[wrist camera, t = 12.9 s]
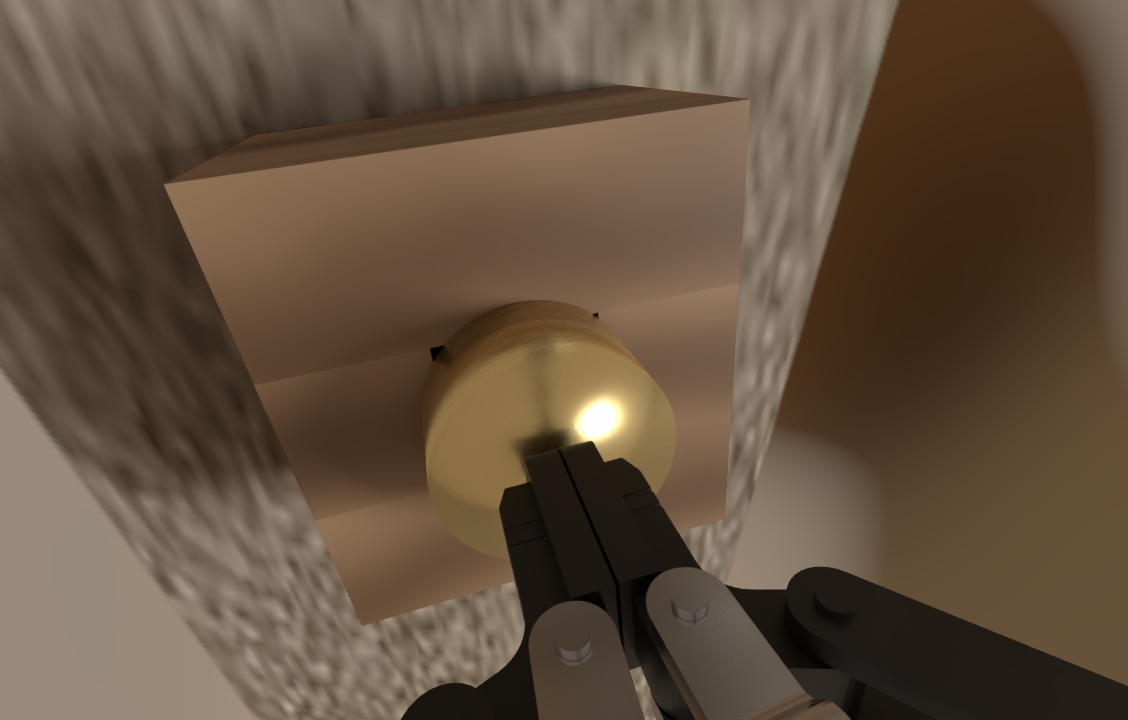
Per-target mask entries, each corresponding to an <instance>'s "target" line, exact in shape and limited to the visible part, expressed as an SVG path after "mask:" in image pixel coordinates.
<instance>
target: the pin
mask: <svg viewBox="0 0 1128 720" xmlns="http://www.w3.org/2000/svg"><path fill="white" fill-rule="evenodd" d="M421 414H422V425H423V437H424V448H425V460H426V472H427V483H428V490H429V495H430V500H431V503H432V505H433V508H434V510H435V513H436V514H437V516H438V518H439V519H440V521H441V522H442V524H443V525H444V526H445V527H446V528H447V530H448V531H449V532H450V533H451V534H452V535H453V536H455V537H456V538H457V539H458V540H459V541H461V542H462V543H464V544H465V545H467V546H469V547H470V548H472V549H474V550H477V551H479V552H481V553H484V554H486V555H490V556H493V557H497V558H502V559H508V560H510V559H509V554H508V549H507V545H506V540H505V536H504V531H503V527H502V522H501V517H500V513H499V506H500V503H501V499H502V496H503V492H504V489H505V488H509V487H513V486H516V485H520V484H524V483H527V481H526V476H525V470H524V464H523V458H524V457H528V456H532V455H536V454H540V453H544V452H548V451H552V450H557V451H558V449H559V448H563V447H567V446H571V445H575V444H578V443H582V442H586V441H590V440H592V441H593V442H594V444H595V446H596V447H597V449H598V451H599V453H600V455H601V457H602V459H603V461H604V462H606V461H610V460H614V459H618V458H623V459H625V460H626V461H627V462H629V463H630V464H632V465H633V466H635V467H636V468H638V469H639V470H640V471H641V472H642V474H643V476H644V477H645V479H646V481H647V482H648V484H649V485H650V487H651V490H652V492H654V494H655V495H657V493H658V491H659V490H660V488H661V487H662V485H663V483H664V481H665V479H666V477H667V475H668V473H669V471H670V468H671V465H672V462H673V458H674V454H675V449H676V437H677V434H676V423H675V418H674V414H673V410H672V408H671V406H670V403H669V401H668V399H667V397H666V396H665V394H664V393H663V391H662V390H661V388H660V387H659V386H658V385H657V383H656V382H655V381H654V380H653V378H652V377H651V376H650V375H649V374H648V372H647V371H646V370H645V369H644V367H643V366H642V365H641V364H640V363H639V361H638V360H637V359H636V358H635V357H634V355H633V354H632V353H631V352H630V350H629V349H628V348H627V347H626V346H625V344H624V343H623V342H622V341H621V339H620V338H619V337H618V336H617V335H616V333H615V332H614V331H613V330H612V329H611V328H610V327H609V326H608V325H607V324H606V323H605V322H604V321H602V320H601V319H600V318H599V317H597V316H595V315H594V314H592V313H590V312H589V311H587V310H585V309H582V308H580V307H577V306H575V305H571V304H567V303H563V302H558V301H549V300H531V301H523V302H516V303H512V304H509V305H505V306H501V307H499V308H496V309H494V310H491V311H489V312H486V313H484V314H483V315H481V316H479V317H477V318H475V319H473V320H472V321H471V322H469V323H468V324H466V325H465V326H464V327H462V328H461V329H460V330H459V331H457V332H456V333H455V334H454V335H453V336H452V337H451V338H450V339H449V340H448V341H447V342H446V344H445V345H444V346H443V347H442V348H441V350H440V351H439V352H438V354H437V356H436V357H435V359H434V360H433V362H432V364H431V366H430V368H429V371H428V373H427V375H426V378H425V382H424V385H423V390H422V398H421Z"/></svg>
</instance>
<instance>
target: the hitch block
mask: <svg viewBox="0 0 1128 720" xmlns="http://www.w3.org/2000/svg"><path fill="white" fill-rule="evenodd" d="M749 114H750V99H745V98H736V97H727V96H717V95H708V94H699V93H690V92H681V91H671V90H662V89H653V88H644V87H635V86H625V85H621V86H614V87H606V88H599V89H591V90H584V91H576V92H569V93H561V94H554V95H547V96H539V97H532V98H524V99H517V100H509V101H502V102H494V103H487V104H479V105H472V106H465V107H457V108H450V109H442V110H435V111H427V112H420V113H412V114H405V115H397V116H390V117H383V118H375V119H368V120H360V121H353V122H345V123H338V124H330V125H323V126H315V127H308V128H301V129H293V130H286V131H278V132H271V133H263V134H256V135H253V136H251V137H249V138H248V139H246V140H244V141H242V142H240V143H238V144H237V145H235V146H233V147H231V148H229V149H227V150H226V151H224V152H222V153H220V154H218V155H216V156H215V157H213V158H211V159H209V160H207V161H206V162H204V163H202V164H200V165H198V166H196V167H195V168H193V169H191V170H189V171H187V172H185V173H184V174H182V175H180V176H178V177H176V178H174V179H173V180H171V181H169V182H167V183H165V184H164V186H165V189H166V191H167V193H168V195H169V198H170V200H171V202H172V204H173V206H174V209H175V211H176V213H177V215H178V218H179V220H180V222H181V224H182V226H183V229H184V231H185V233H186V235H187V237H188V240H189V242H190V244H191V246H192V249H193V251H194V253H195V255H196V257H197V260H198V262H199V264H200V266H201V269H202V271H203V273H204V275H205V277H206V280H207V282H208V284H209V286H210V289H211V291H212V293H213V295H214V297H215V300H216V302H217V304H218V306H219V309H220V311H221V313H222V315H223V317H224V320H225V322H226V324H227V326H228V329H229V331H230V333H231V335H232V337H233V340H234V342H235V344H236V346H237V349H238V351H239V353H240V355H241V357H242V360H243V362H244V364H245V366H246V369H247V371H248V373H249V375H250V377H251V380H252V382H253V384H254V386H255V389H256V391H257V393H258V395H259V397H260V400H261V402H262V404H263V406H264V409H265V411H266V413H267V415H268V417H269V420H270V422H271V424H272V426H273V428H274V431H275V433H276V435H277V437H278V440H279V442H280V444H281V446H282V448H283V451H284V453H285V455H286V457H287V460H288V462H289V464H290V466H291V468H292V471H293V473H294V475H295V477H296V480H297V482H298V484H299V486H300V488H301V491H302V493H303V495H304V497H305V500H306V502H307V504H308V506H309V508H310V511H311V513H312V515H313V517H314V520H315V522H316V524H317V526H318V528H319V531H320V533H321V535H322V537H323V540H324V542H325V544H326V546H327V548H328V551H329V553H330V555H331V557H332V560H333V562H334V564H335V566H336V568H337V571H338V573H339V575H340V577H341V580H342V582H343V584H344V586H345V588H346V591H347V593H348V595H349V597H350V600H351V602H352V604H353V606H354V608H355V611H356V613H357V615H358V617H359V619H360V622H361V624H362V626H363V625H367V624H370V623H373V622H377V621H380V620H384V619H387V618H390V617H394V616H397V615H401V614H404V613H407V612H411V611H414V610H417V609H421V608H424V607H428V606H431V605H434V604H438V603H441V602H444V601H448V600H451V599H455V598H458V597H461V596H465V595H468V594H471V593H475V592H478V591H482V590H485V589H488V588H492V587H495V586H498V585H502V584H505V583H509V582H512V581H515V580H514V576H513V571H512V567H511V563H510V560H508V559H502V558H497V557H493V556H490V555H486V554H484V553H481V552H479V551H477V550H474V549H472V548H470V547H469V546H467V545H465V544H464V543H462V542H461V541H459V540H458V539H457V538H456V537H455V536H453V535H452V534H451V533H450V532H449V531H448V530H447V528H446V527H445V526H444V525H443V524H442V522H441V521H440V519H439V518H438V516H437V514H436V513H435V510H434V508H433V505H432V503H431V500H430V495H429V490H428V483H427V472H426V460H425V448H424V437H423V425H422V414H421V398H422V390H423V385H424V382H425V378H426V375H427V373H428V371H429V368H430V366H431V364H432V362H433V360H434V359H435V357H436V356H437V354H438V352H439V351H440V346H443V345H445V344H446V342H447V341H448V340H449V339H450V338H451V337H452V336H453V335H454V334H455V333H456V332H457V331H459V330H460V329H461V328H462V327H464V326H465V325H466V324H468V323H469V322H471V321H472V320H473V319H475V318H477V317H479V316H481V315H483V314H484V313H486V312H489V311H491V310H494V309H496V308H499V307H501V306H505V305H509V304H512V303H516V302H523V301H531V300H549V301H558V302H563V303H567V304H571V305H575V306H577V307H580V308H582V309H585V310H587V311H589V312H590V313H592V314H594V315H595V316H597V317H599V318H600V319H601V320H602V321H604V322H605V323H606V324H607V325H608V326H609V327H610V328H611V329H612V330H613V331H614V332H615V333H616V335H617V336H618V337H619V338H620V339H621V341H622V342H623V343H624V344H625V346H626V347H627V348H628V349H629V350H630V352H631V353H632V354H633V355H634V357H635V358H636V359H637V360H638V361H639V363H640V364H641V365H642V366H643V367H644V369H645V370H646V371H647V372H648V374H649V375H650V376H651V377H652V378H653V380H654V381H655V382H656V383H657V385H658V386H659V387H660V388H661V390H662V391H663V393H664V394H665V396H666V397H667V399H668V401H669V403H670V406H671V408H672V410H673V414H674V418H675V423H676V434H677V437H676V449H675V454H674V458H673V462H672V465H671V468H670V471H669V473H668V475H667V477H666V479H665V481H664V483H663V485H662V487H661V488H660V490H659V491H658V493H657V495H656V497H657V499H658V500H659V502H660V505H661V507H663V508H664V510H665V512H666V513H667V515H668V517H669V518H670V520H671V521H672V523H673V525H674V526H675V528H676V530H677V531H678V532H681V531H684V530H688V529H691V528H694V527H698V526H701V525H704V524H708V523H711V522H715V521H718V520H721V519H725V505H726V488H727V472H728V456H729V439H730V423H731V407H732V390H733V374H734V358H735V342H736V325H737V309H738V293H739V276H740V260H741V244H742V228H743V211H744V195H745V179H746V162H747V146H748V130H749Z"/></svg>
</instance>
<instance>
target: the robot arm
mask: <svg viewBox="0 0 1128 720" xmlns="http://www.w3.org/2000/svg"><path fill="white" fill-rule="evenodd" d="M523 464H524V470H525V476H526V481H527V483H524V484H520V485H516V486H513V487H509V488H505V489H504V492H503V496H502V499H501V503H500V506H499V513H500V517H501V522H502V527H503V531H504V536H505V540H506V545H507V549H508V554H509V559H510V563H511V567H512V571H513V576H514V580H515V584H516V588H517V592H518V597H519V601H520V605H521V609H522V613H523V618H524V622H525V631H524V637H523V640H522V642H521V645H520V647H519V649H518V651H517V653H516V654H515V655H514V657H513V658H512V660H511V661H510V662H509V663H508V664H507V665H506V666H505V667H504V668H503V669H501V670H500V671H499V672H498V673H496V674H495V675H493V676H492V677H491V678H489V679H488V680H486V681H485V682H484V683H482V684H481V685H479V686H478V687H477V688H474V687H472V686H471V685H467V684H463V683H448V684H444V685H440V686H437V687H435V688H433V689H431V690H429V691H427V692H426V693H424V694H423V695H421V696H420V697H419V698H418V699H417V700H415V702H414V703H413V704H412V705H411V706H410V707H409V708H408V709H407V711H406V712H405V714H404V715H403V717H402V718H401V720H645V719H644V715H643V712H642V709H641V706H640V703H639V699H638V696H637V693H636V690H635V686H634V683H633V680H632V677H631V673H630V670H631V669H634V668H637V667H639V666H641V668H642V671H643V673H644V675H645V678H646V680H647V683H648V685H649V688H650V703H651V707H652V711H653V713H654V716H655V718H656V720H1128V686H1126V685H1124V684H1121V683H1119V682H1116V681H1114V680H1111V679H1109V678H1106V677H1104V676H1101V675H1099V674H1097V673H1094V672H1092V671H1089V670H1087V669H1084V668H1081V667H1079V666H1077V665H1074V664H1072V663H1069V662H1067V661H1064V660H1062V659H1059V658H1057V657H1055V656H1052V655H1050V654H1047V653H1045V652H1042V651H1040V650H1037V649H1035V648H1032V647H1029V646H1027V645H1025V644H1022V643H1020V642H1018V641H1015V640H1013V639H1010V638H1008V637H1005V636H1003V635H1000V634H998V633H995V632H993V631H990V630H988V629H985V628H983V627H980V626H978V625H975V624H973V623H971V622H968V621H966V620H963V619H961V618H958V617H956V616H953V615H951V614H948V613H946V612H943V611H941V610H938V609H936V608H933V607H931V606H929V605H926V604H924V603H921V602H919V601H916V600H914V599H911V598H909V597H906V596H904V595H901V594H899V593H896V592H894V591H892V590H889V589H886V588H884V587H882V586H879V585H877V584H874V583H872V582H869V581H867V580H864V579H862V578H859V577H857V576H854V575H852V574H850V573H847V572H844V571H841V570H839V569H835V568H830V567H812V568H807V569H804V570H802V571H800V572H798V573H797V574H795V575H794V576H793V578H791V580H790V582H789V583H788V587H787V590H753V589H752V590H751V589H740V588H735V587H731V586H728V585H725V584H724V583H723V582H722V581H720V580H719V579H718V578H717V577H715V576H714V575H712V574H711V573H708V572H706V571H704V570H702V569H701V567H700V566H699V565H698V564H697V562H696V561H695V559H694V557H693V556H692V554H691V553H690V551H689V549H688V548H687V546H686V544H685V543H684V541H683V539H682V538H681V536H680V535H679V533H678V531H677V530H676V528H675V526H674V525H673V523H672V521H671V520H670V518H669V517H668V515H667V513H666V512H665V510H664V508H663V507H661V505H660V502H659V500H658V499H657V497H656V495H655V494H654V492H652V490H651V487H650V485H649V484H648V482H647V481H646V479H645V477H644V476H643V474H642V472H641V471H640V470H639V469H638V468H636V467H635V466H633V465H632V464H630V463H629V462H627V461H626V460H625V459H623V458H618V459H614V460H610V461H606V462H604V461H603V459H602V457H601V455H600V453H599V451H598V449H597V447H596V446H595V444H594V442H593V441H592V440H590V441H586V442H582V443H578V444H575V445H571V446H567V447H563V448H559V449H558V451H557V450H552V451H548V452H544V453H540V454H536V455H532V456H528V457H524V458H523Z"/></svg>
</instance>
